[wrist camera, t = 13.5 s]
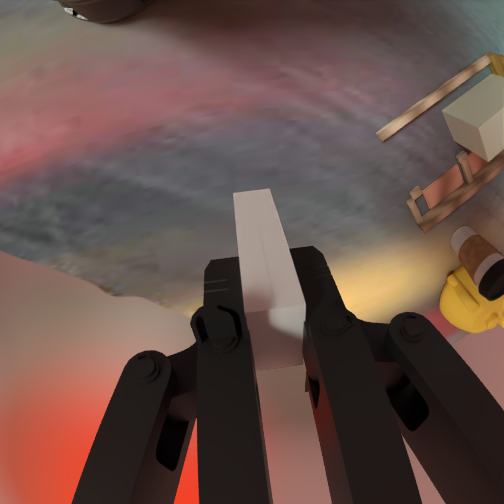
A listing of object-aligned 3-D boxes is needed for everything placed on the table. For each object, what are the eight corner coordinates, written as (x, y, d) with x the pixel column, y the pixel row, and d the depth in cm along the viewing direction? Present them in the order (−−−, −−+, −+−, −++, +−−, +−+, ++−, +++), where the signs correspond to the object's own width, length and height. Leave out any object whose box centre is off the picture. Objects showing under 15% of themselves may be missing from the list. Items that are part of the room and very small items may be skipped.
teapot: (506, 270, 61) (534, 306, 50) (464, 318, 70) (487, 355, 59) (467, 237, 53) (505, 280, 42) (416, 299, 61) (443, 346, 50)
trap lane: (417, 225, 50) (428, 238, 46) (369, 137, 40) (381, 146, 37) (516, 143, 40) (530, 151, 37) (488, 52, 31) (504, 56, 27)
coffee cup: (459, 215, 49) (506, 264, 37) (481, 225, 51) (524, 271, 39) (438, 250, 54) (478, 303, 42) (461, 257, 56) (499, 306, 44)
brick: (453, 140, 40) (488, 162, 33) (440, 110, 38) (478, 128, 30) (501, 102, 36) (536, 118, 29) (491, 73, 33) (529, 85, 26)
